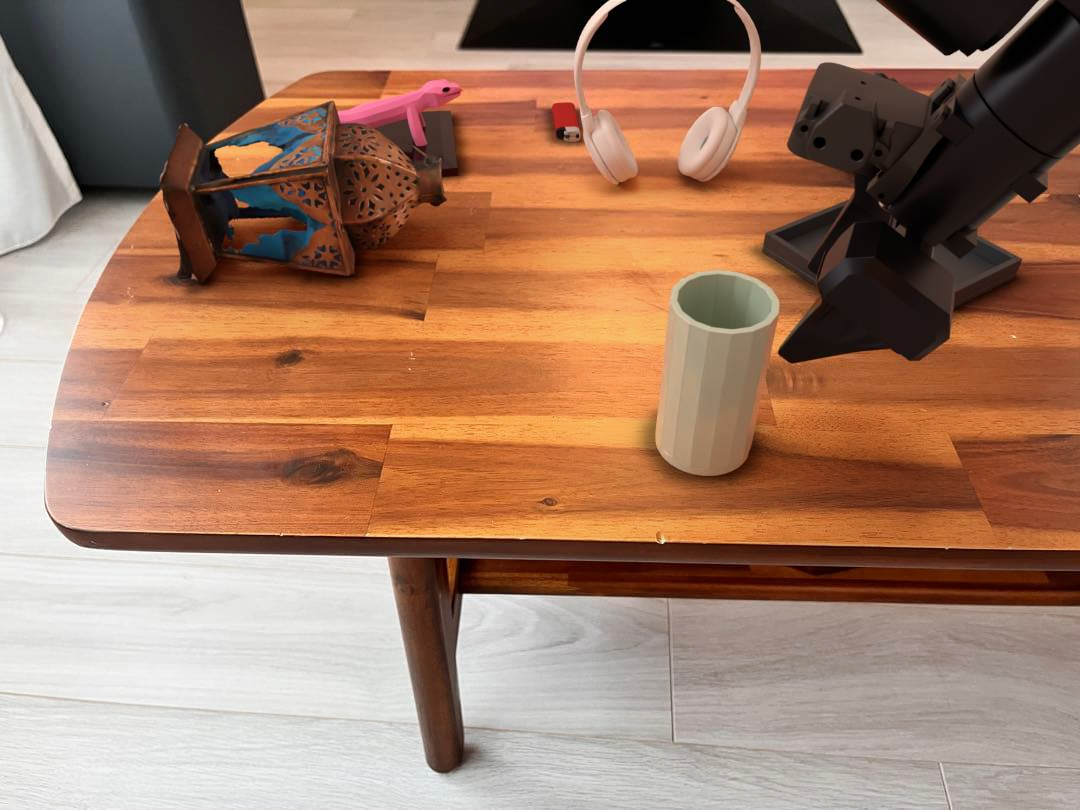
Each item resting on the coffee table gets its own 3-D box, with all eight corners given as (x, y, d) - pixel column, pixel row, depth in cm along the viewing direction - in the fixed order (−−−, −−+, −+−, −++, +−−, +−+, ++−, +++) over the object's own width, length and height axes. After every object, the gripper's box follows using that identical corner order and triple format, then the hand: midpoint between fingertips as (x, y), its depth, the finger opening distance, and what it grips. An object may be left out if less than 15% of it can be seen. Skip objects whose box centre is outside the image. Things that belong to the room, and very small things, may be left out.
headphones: (569, 165, 99) (572, -26, 86) (734, 160, 100) (762, -31, 86) (574, 198, 94) (578, -1, 81) (748, 192, 95) (780, -6, 81)
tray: (1015, 278, 82) (1023, 258, 81) (894, 338, 76) (901, 318, 75) (878, 203, 93) (883, 185, 91) (761, 251, 86) (765, 232, 85)
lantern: (212, 315, 90) (460, 282, 91) (149, 272, 74) (451, 234, 75) (196, 160, 92) (439, 131, 93) (131, 86, 76) (426, 51, 77)
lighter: (575, 102, 109) (581, 131, 103) (575, 112, 110) (580, 141, 104) (551, 102, 109) (556, 132, 103) (551, 112, 109) (556, 142, 104)
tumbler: (769, 451, 66) (802, 309, 57) (696, 490, 63) (719, 346, 55) (707, 399, 71) (729, 258, 62) (636, 433, 68) (648, 291, 59)
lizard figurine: (471, 174, 98) (467, 110, 93) (285, 187, 96) (271, 122, 91) (463, 117, 109) (459, 56, 104) (296, 127, 107) (283, 66, 102)
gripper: (907, -51, 48) (729, 160, 59) (857, 83, 35) (643, 319, 46) (1066, 78, 49) (861, 261, 60) (1074, 254, 36) (812, 444, 47)
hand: (799, 311), depth 53 cm, fingers open, 9 cm apart
